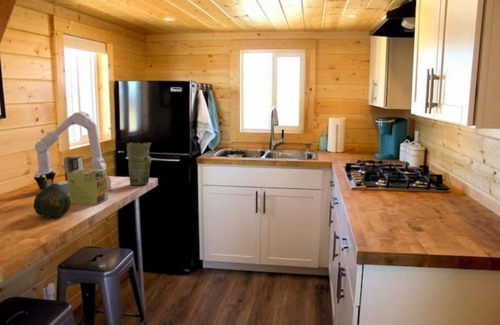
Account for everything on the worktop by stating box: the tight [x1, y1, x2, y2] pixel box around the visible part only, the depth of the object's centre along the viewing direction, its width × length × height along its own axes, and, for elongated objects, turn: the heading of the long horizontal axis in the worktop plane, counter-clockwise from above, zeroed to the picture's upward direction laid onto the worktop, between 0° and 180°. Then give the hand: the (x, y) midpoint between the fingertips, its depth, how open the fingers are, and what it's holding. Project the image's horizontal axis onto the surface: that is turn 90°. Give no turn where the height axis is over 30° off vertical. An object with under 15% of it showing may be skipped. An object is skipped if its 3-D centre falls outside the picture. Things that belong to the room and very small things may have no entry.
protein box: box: [67, 168, 109, 206], centre depth 203 cm, size 10×15×16 cm
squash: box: [33, 182, 72, 220], centre depth 181 cm, size 14×15×15 cm
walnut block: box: [39, 178, 52, 193], centre depth 223 cm, size 4×4×6 cm
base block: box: [55, 180, 68, 194], centre depth 222 cm, size 7×7×6 cm
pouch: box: [126, 141, 152, 186], centre depth 239 cm, size 11×12×25 cm
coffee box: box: [62, 156, 85, 181], centre depth 239 cm, size 9×6×16 cm
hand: (46, 187), depth 223 cm, fingers open, 7 cm apart
